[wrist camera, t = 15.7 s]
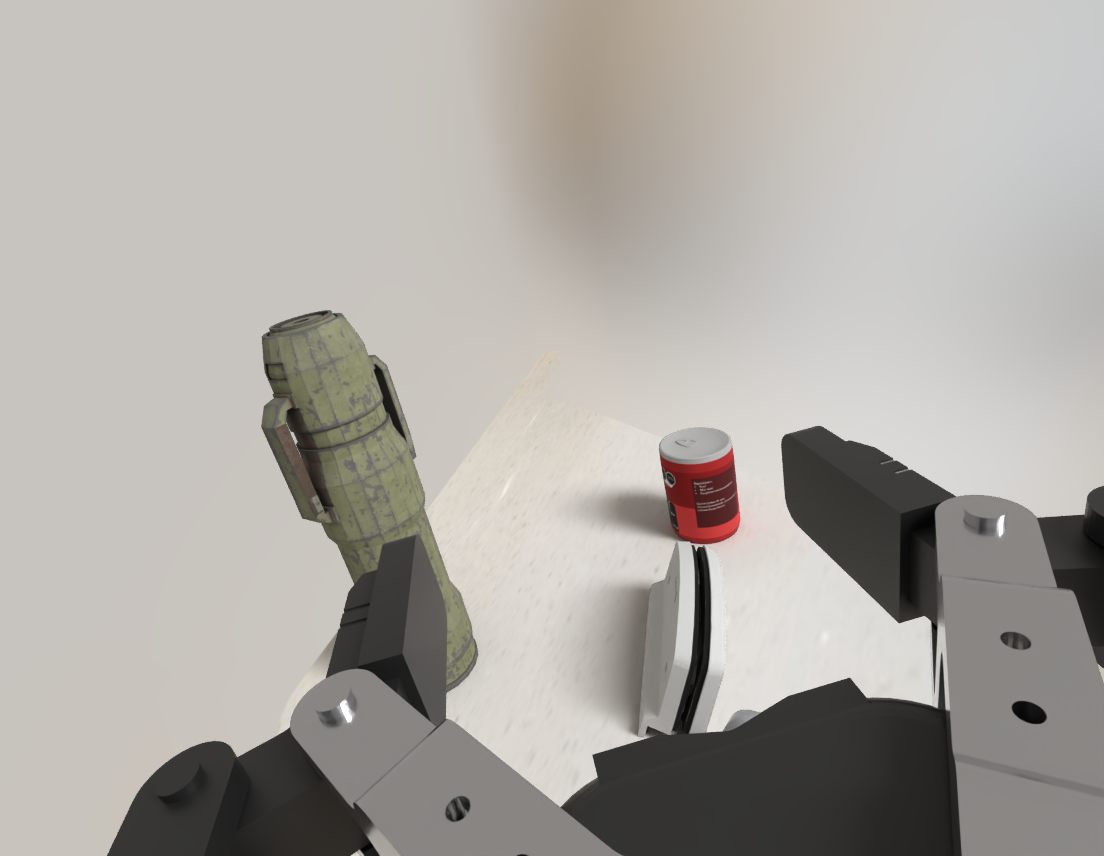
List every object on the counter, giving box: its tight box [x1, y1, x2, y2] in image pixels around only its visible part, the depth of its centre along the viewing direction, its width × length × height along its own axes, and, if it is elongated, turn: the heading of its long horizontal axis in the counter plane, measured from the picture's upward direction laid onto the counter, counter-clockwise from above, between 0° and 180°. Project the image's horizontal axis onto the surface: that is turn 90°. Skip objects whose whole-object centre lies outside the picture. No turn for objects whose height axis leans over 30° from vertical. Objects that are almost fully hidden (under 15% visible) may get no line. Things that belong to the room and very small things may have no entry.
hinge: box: [638, 541, 726, 738], centre depth 51 cm, size 17×5×10 cm, turn 168°
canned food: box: [659, 428, 740, 544], centre depth 67 cm, size 8×8×11 cm
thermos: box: [261, 310, 478, 693], centre depth 52 cm, size 9×12×35 cm
